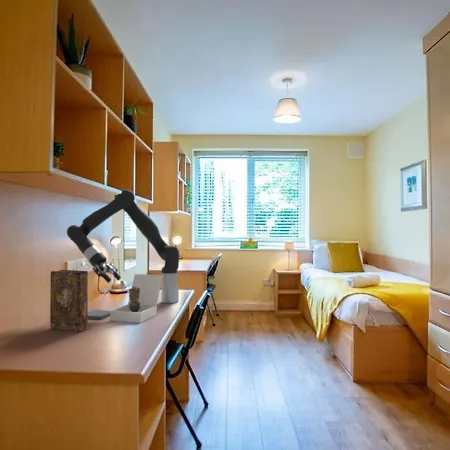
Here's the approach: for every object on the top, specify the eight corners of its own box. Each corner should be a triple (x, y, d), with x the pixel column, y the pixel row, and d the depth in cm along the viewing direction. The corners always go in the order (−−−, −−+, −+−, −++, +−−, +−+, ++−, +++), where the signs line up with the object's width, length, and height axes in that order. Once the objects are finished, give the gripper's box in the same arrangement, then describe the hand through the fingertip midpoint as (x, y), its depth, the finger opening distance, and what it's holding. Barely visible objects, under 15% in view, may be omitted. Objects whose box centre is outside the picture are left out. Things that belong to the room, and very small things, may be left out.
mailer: (135, 309, 192) (135, 274, 193) (162, 311, 188) (162, 275, 188) (110, 320, 170) (110, 279, 171) (140, 322, 166) (140, 281, 166)
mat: (94, 312, 186) (94, 309, 186) (115, 314, 183) (115, 311, 183) (79, 318, 175) (79, 314, 175) (101, 319, 172) (101, 316, 172)
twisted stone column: (129, 319, 172) (129, 287, 172) (127, 316, 177) (127, 286, 177) (140, 318, 174) (140, 287, 175) (138, 315, 179) (138, 285, 180)
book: (89, 329, 155) (89, 271, 156) (80, 332, 150) (80, 272, 151) (60, 325, 161) (60, 269, 161) (50, 328, 156) (50, 271, 156)
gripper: (90, 252, 175) (111, 277, 171) (107, 250, 188) (127, 273, 185) (81, 263, 176) (101, 287, 173) (99, 260, 190) (118, 283, 187)
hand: (114, 280), depth 179 cm, fingers open, 8 cm apart
